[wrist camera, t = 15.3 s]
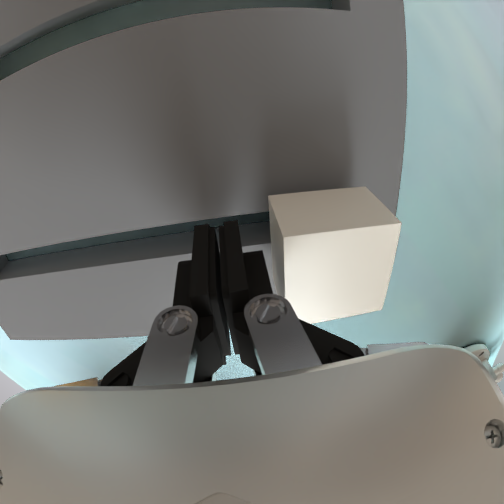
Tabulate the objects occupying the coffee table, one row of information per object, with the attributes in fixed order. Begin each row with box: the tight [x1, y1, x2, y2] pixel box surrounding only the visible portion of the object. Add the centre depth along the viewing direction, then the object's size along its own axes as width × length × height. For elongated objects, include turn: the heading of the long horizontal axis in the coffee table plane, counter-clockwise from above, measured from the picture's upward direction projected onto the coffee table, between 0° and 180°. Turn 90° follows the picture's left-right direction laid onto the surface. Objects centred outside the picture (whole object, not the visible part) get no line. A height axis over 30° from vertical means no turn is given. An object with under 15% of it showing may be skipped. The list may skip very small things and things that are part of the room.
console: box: [0, 0, 407, 340], centre depth 11 cm, size 25×22×2 cm
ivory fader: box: [268, 187, 402, 324], centre depth 12 cm, size 4×4×5 cm
